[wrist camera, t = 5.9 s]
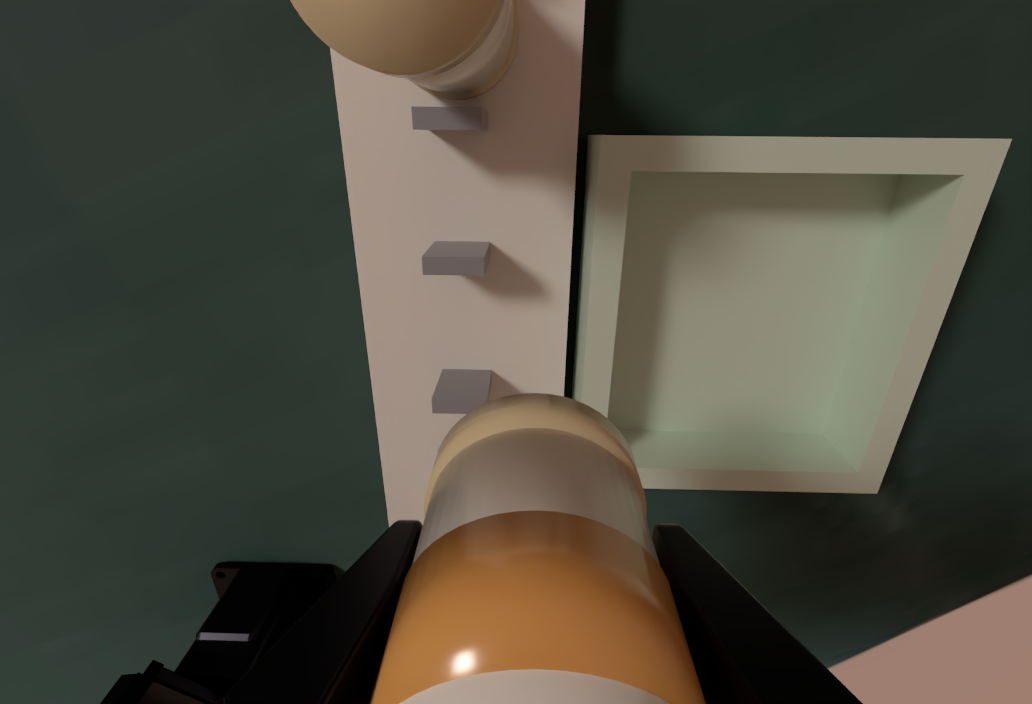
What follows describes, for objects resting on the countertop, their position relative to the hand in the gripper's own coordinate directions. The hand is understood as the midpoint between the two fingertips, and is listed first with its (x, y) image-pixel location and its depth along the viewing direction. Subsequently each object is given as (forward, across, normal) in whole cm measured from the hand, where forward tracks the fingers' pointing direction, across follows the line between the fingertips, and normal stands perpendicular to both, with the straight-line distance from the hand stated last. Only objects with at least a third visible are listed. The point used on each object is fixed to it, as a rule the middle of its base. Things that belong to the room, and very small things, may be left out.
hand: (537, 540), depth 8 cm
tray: (+13, -8, 0) cm, 15 cm away
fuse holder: (+13, +3, 0) cm, 13 cm away
